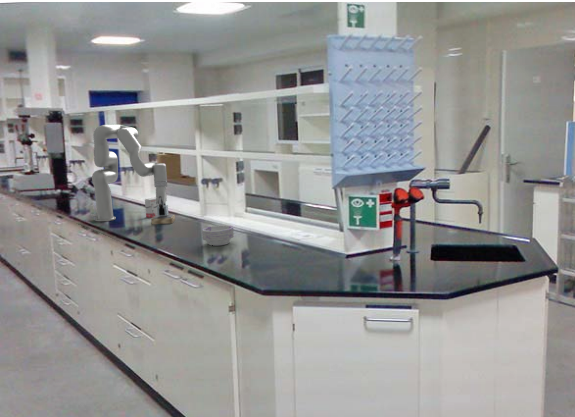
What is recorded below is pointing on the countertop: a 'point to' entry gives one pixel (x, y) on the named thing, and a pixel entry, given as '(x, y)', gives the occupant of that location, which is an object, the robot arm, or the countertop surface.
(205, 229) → the paper bowls
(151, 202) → the ink box
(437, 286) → the countertop surface
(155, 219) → the maple stand
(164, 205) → the cube
